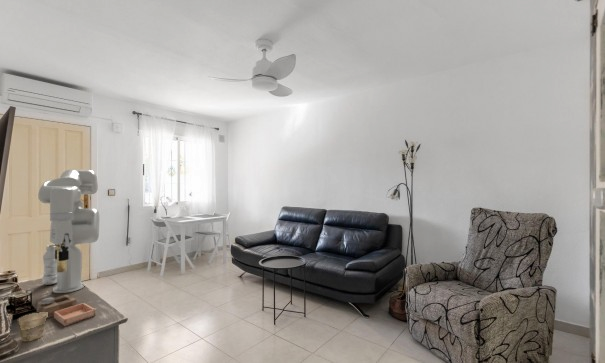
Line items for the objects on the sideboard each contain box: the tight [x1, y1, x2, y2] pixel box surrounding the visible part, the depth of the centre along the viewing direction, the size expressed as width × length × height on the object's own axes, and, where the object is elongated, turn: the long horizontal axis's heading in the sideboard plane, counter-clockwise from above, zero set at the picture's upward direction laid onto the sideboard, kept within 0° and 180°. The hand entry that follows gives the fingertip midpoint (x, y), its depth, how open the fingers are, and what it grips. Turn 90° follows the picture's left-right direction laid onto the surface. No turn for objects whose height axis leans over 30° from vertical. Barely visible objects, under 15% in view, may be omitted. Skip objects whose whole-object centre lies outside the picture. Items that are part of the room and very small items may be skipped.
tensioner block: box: [36, 293, 77, 319], centre depth 118 cm, size 10×10×6 cm
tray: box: [53, 302, 96, 327], centre depth 113 cm, size 11×10×2 cm
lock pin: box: [55, 245, 67, 272], centre depth 120 cm, size 4×4×11 cm
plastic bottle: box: [42, 244, 57, 286], centre depth 147 cm, size 6×7×20 cm
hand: (61, 259), depth 120 cm, fingers closed on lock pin, 3 cm apart
